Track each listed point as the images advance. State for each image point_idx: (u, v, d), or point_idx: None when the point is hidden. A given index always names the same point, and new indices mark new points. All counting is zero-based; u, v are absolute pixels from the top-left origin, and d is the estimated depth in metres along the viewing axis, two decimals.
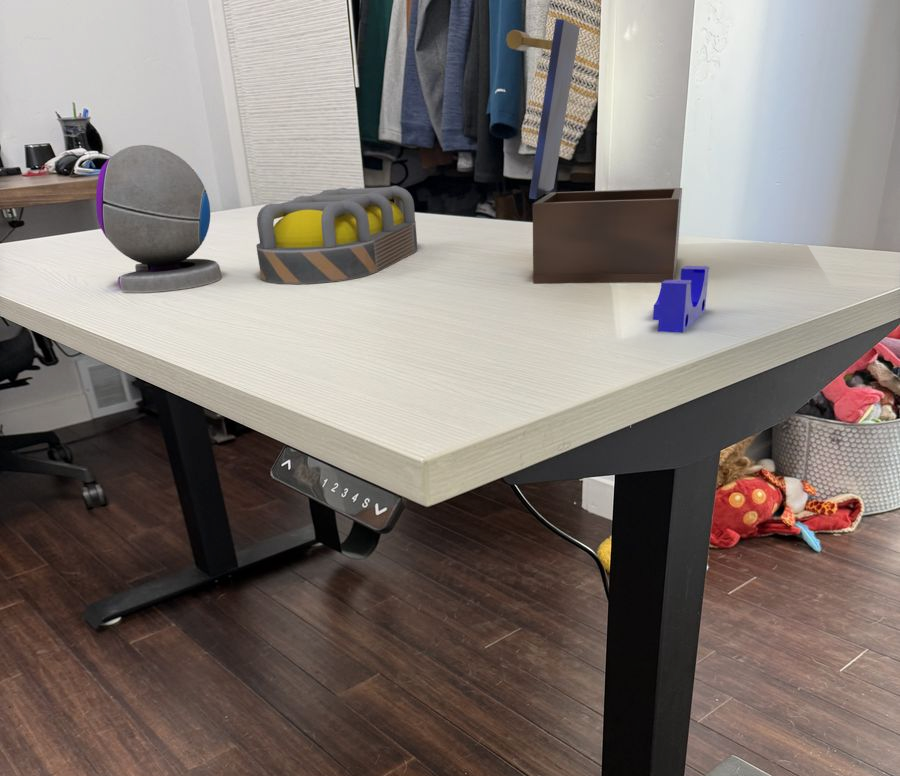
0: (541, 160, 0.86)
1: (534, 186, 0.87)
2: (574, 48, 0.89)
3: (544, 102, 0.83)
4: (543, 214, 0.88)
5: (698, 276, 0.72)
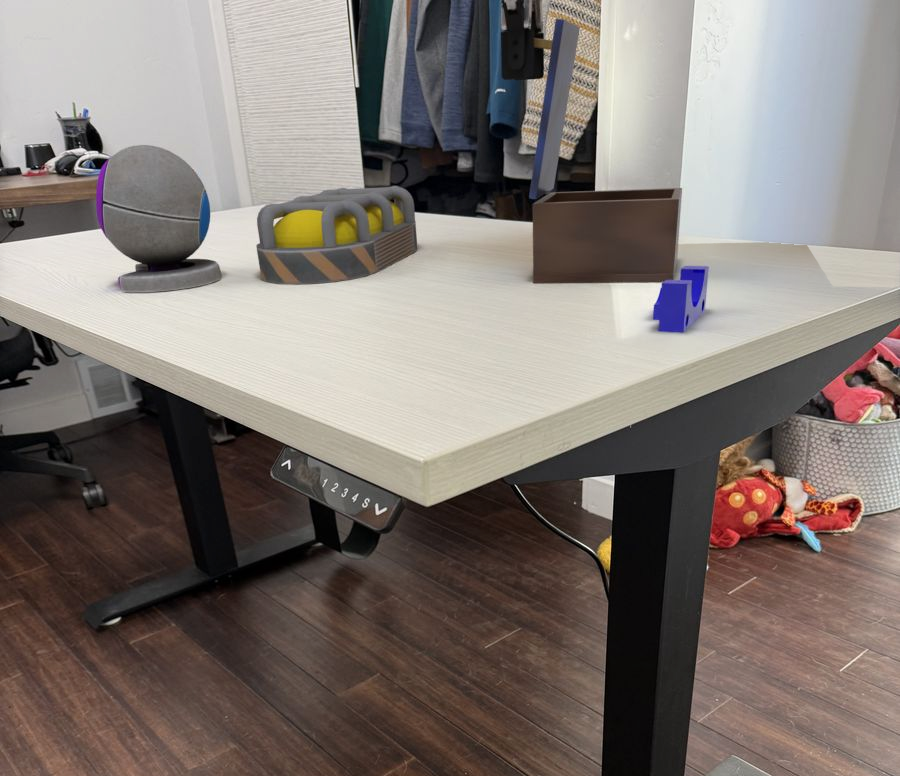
0: (541, 160, 0.86)
1: (534, 186, 0.87)
2: (574, 48, 0.89)
3: (544, 102, 0.83)
4: (543, 214, 0.88)
5: (698, 276, 0.72)
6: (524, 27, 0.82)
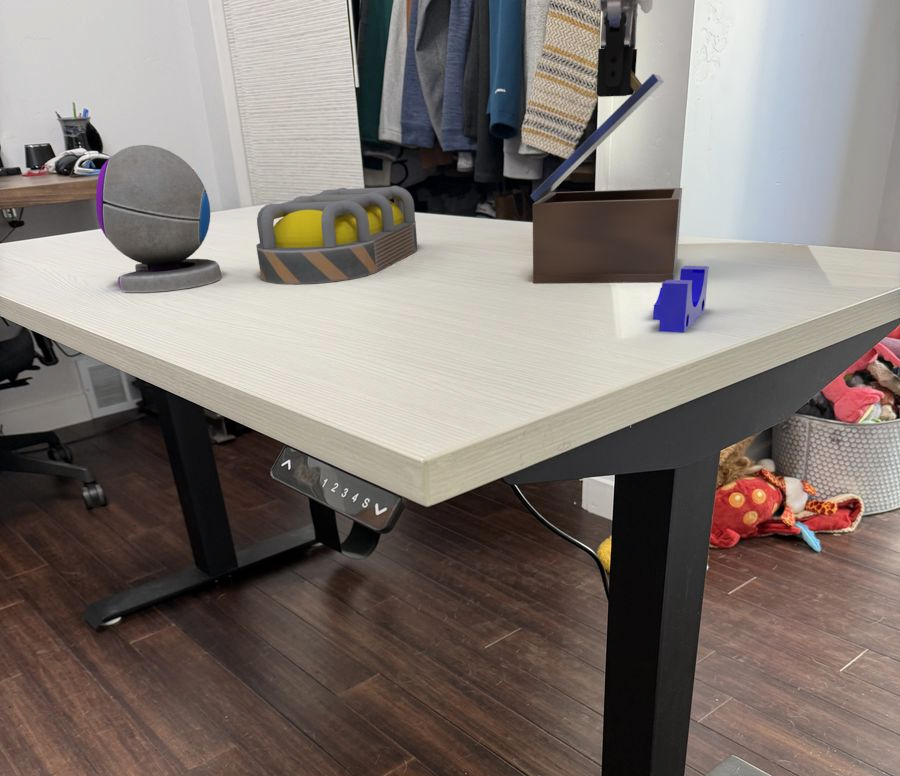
0: (561, 175, 0.86)
1: (541, 190, 0.87)
2: (648, 96, 0.90)
3: (596, 132, 0.84)
4: (543, 214, 0.88)
5: (698, 276, 0.72)
6: (624, 45, 0.81)
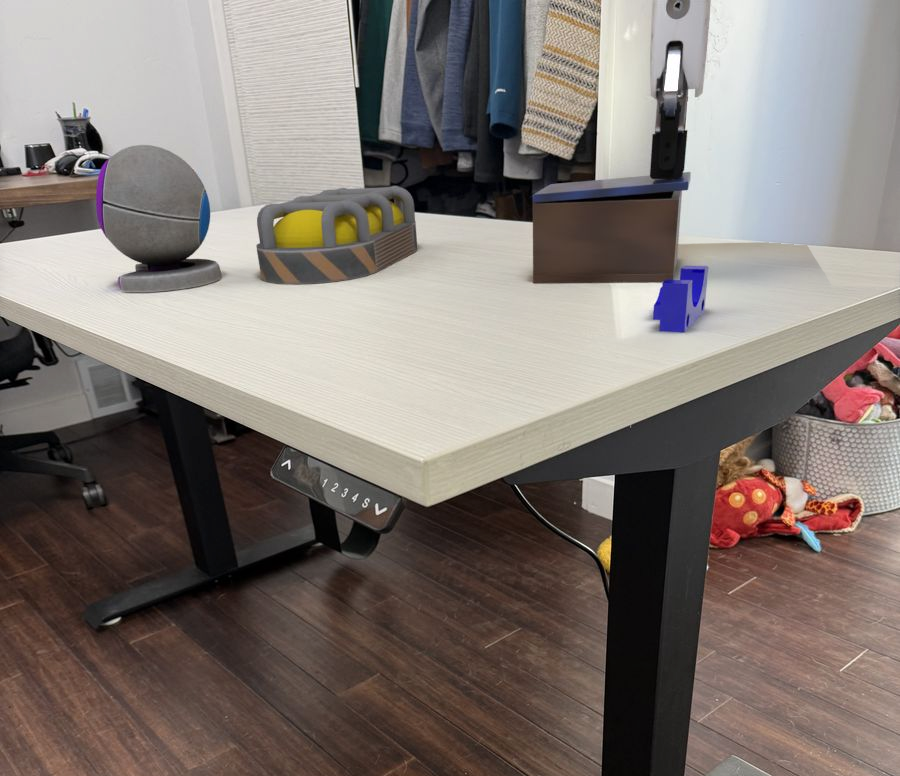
0: (567, 199, 0.87)
1: (544, 198, 0.88)
2: None
3: (617, 189, 0.86)
4: (543, 214, 0.88)
5: (698, 276, 0.72)
6: (678, 131, 0.83)
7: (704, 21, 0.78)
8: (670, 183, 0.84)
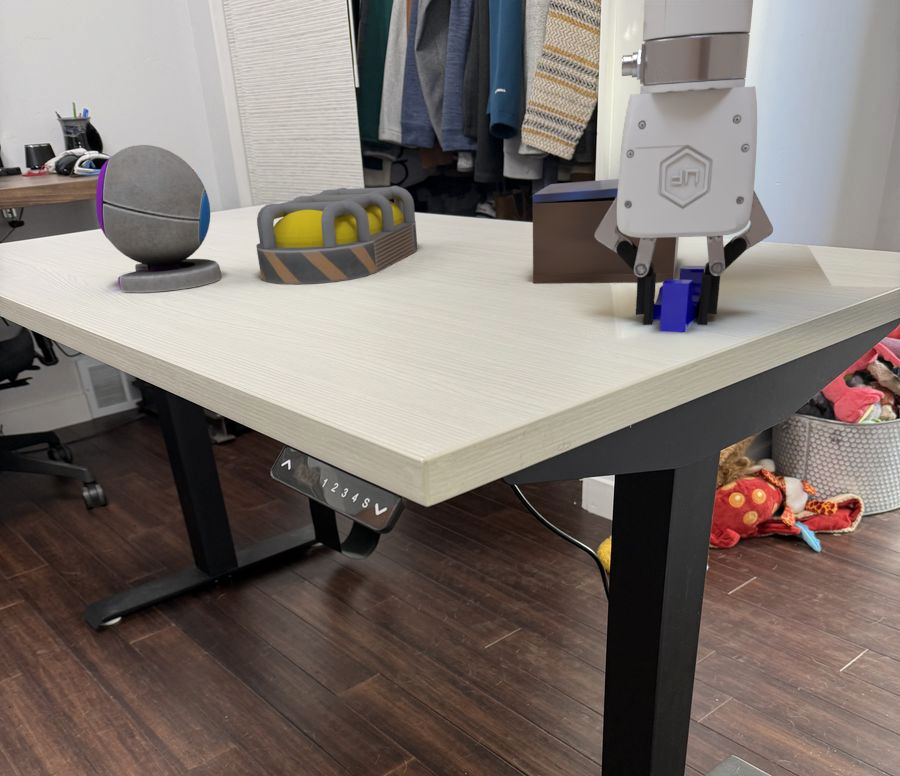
0: (567, 199, 0.87)
1: (544, 198, 0.88)
2: None
3: (617, 190, 0.86)
4: (543, 214, 0.88)
5: (697, 276, 0.72)
6: (637, 274, 0.70)
7: (625, 153, 0.65)
8: None
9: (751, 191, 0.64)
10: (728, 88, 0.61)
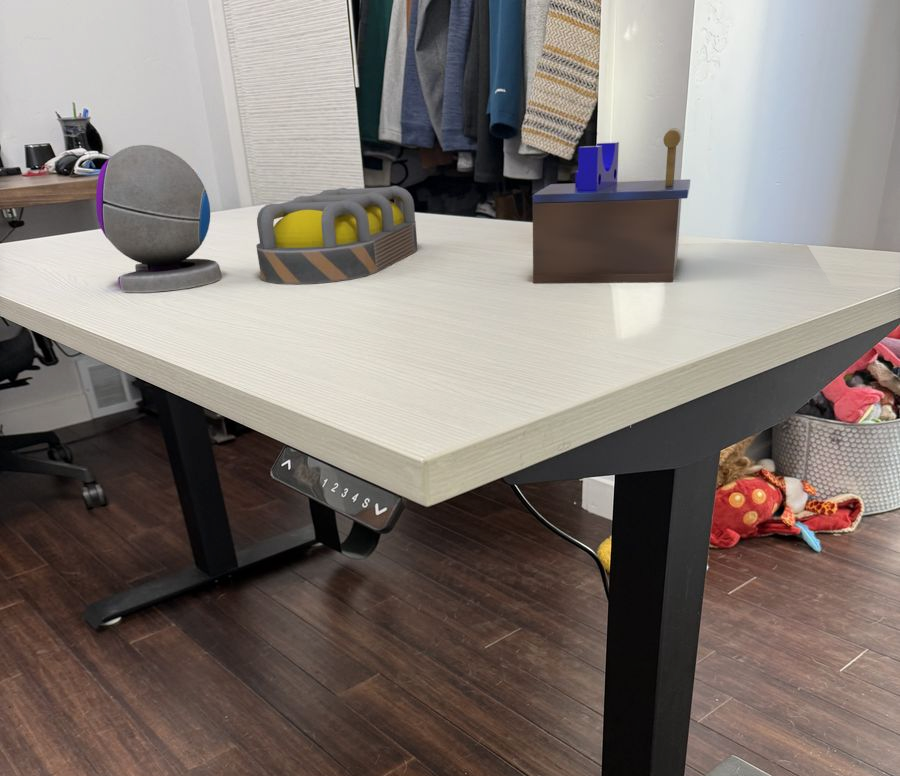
0: (567, 201, 0.87)
1: (544, 198, 0.88)
2: None
3: (617, 193, 0.86)
4: (543, 214, 0.88)
5: (610, 149, 0.91)
6: None
7: None
8: (670, 190, 0.85)
9: None
10: None
